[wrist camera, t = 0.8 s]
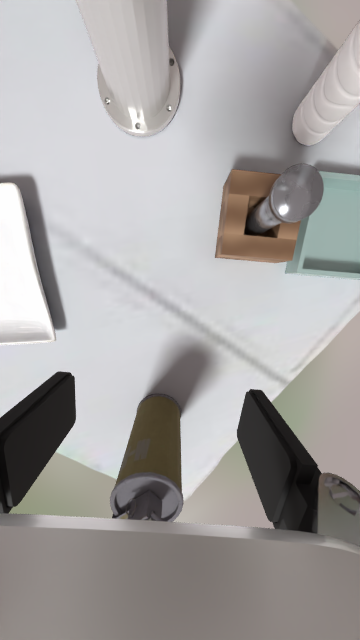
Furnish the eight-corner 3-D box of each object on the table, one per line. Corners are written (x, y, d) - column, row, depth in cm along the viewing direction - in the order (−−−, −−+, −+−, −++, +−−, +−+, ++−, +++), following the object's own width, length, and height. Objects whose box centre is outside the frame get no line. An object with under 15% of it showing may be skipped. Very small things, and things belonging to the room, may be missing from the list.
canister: (162, 385, 40) (148, 486, 21) (189, 415, 42) (200, 534, 23) (126, 410, 42) (81, 527, 22) (154, 438, 44) (136, 568, 24)
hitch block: (223, 186, 31) (232, 169, 26) (289, 193, 31) (310, 177, 27) (214, 257, 34) (221, 254, 29) (275, 262, 34) (292, 260, 29)
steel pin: (240, 206, 31) (279, 161, 19) (271, 209, 31) (329, 166, 19) (235, 240, 32) (269, 217, 20) (265, 242, 32) (316, 222, 21)
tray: (304, 182, 31) (319, 171, 28) (388, 191, 32) (413, 181, 28) (284, 273, 35) (296, 272, 31) (360, 280, 35) (380, 280, 32)
